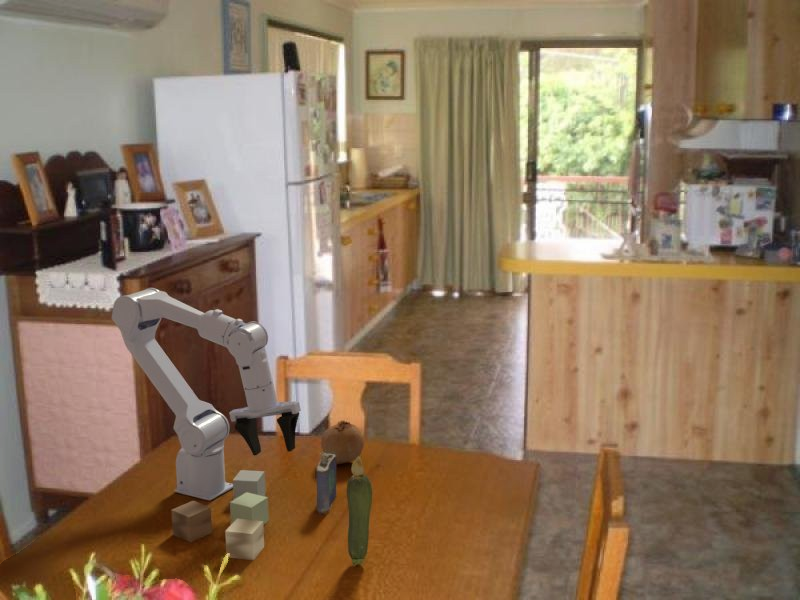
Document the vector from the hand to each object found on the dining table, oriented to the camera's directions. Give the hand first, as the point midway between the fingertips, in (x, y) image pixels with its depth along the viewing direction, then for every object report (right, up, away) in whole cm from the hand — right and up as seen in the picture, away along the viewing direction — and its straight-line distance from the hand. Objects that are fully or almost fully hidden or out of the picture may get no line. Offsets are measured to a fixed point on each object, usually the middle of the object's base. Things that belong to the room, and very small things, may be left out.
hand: (274, 451), depth 174 cm
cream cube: (-3, -15, -17) cm, 23 cm away
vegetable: (+18, -16, -22) cm, 32 cm away
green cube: (-4, -13, -7) cm, 15 cm away
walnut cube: (-14, -13, -11) cm, 22 cm away
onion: (+12, -6, +21) cm, 26 cm away
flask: (+10, -11, +1) cm, 15 cm away
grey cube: (-5, -10, +4) cm, 12 cm away
